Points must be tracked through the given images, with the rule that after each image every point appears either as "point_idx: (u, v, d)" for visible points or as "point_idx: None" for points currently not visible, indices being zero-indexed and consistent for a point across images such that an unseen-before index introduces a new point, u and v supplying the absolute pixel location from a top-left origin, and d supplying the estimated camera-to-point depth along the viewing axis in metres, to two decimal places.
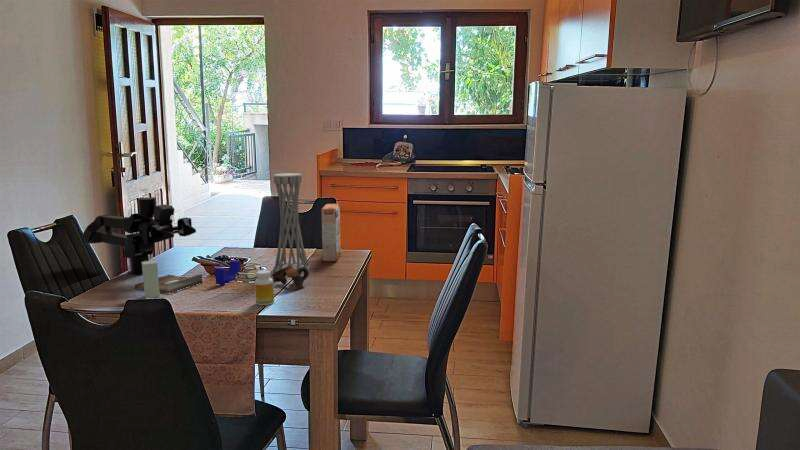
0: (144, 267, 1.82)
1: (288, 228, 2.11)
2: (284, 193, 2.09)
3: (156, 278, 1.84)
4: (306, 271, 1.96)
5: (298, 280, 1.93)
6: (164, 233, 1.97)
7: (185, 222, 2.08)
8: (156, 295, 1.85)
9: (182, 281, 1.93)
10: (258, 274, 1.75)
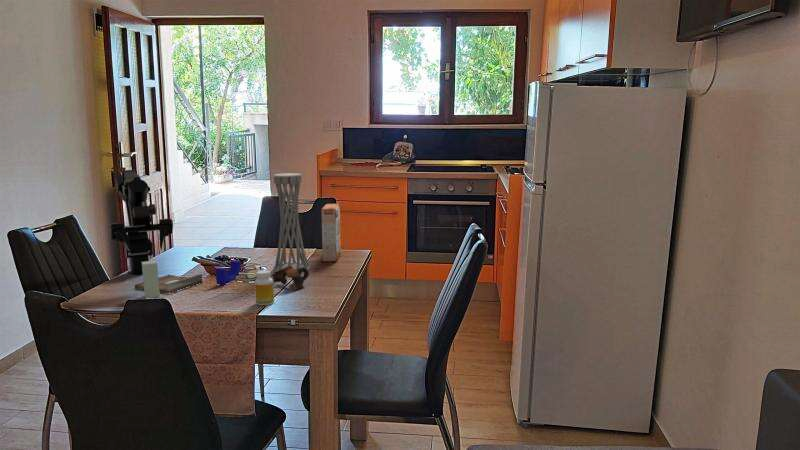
0: (144, 267, 1.82)
1: (288, 228, 2.11)
2: (284, 193, 2.09)
3: (156, 278, 1.84)
4: (306, 271, 1.96)
5: (298, 280, 1.92)
6: (125, 243, 1.89)
7: (161, 229, 1.94)
8: (156, 295, 1.85)
9: (182, 281, 1.93)
10: (258, 274, 1.75)
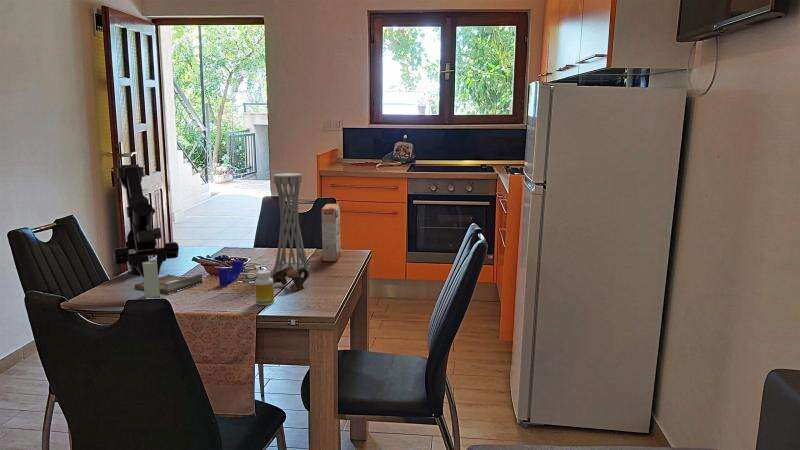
0: (144, 267, 1.82)
1: (288, 228, 2.11)
2: (284, 193, 2.09)
3: (156, 278, 1.84)
4: (306, 272, 1.95)
5: (298, 281, 1.92)
6: (138, 267, 1.84)
7: (158, 254, 1.87)
8: (156, 295, 1.85)
9: (182, 281, 1.93)
10: (258, 274, 1.75)
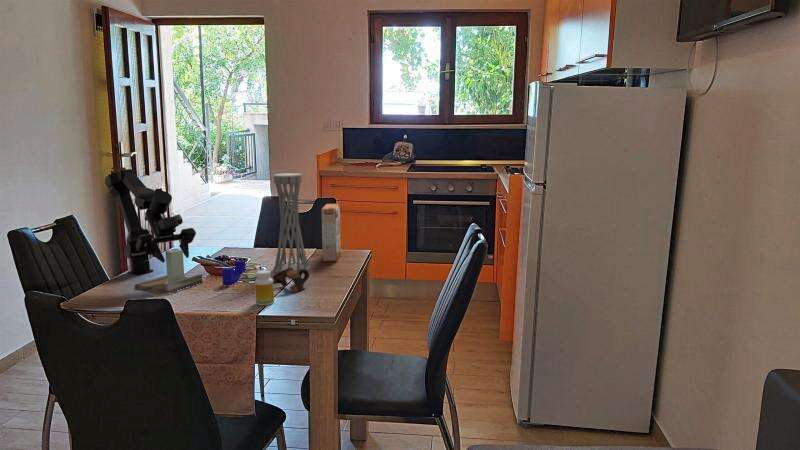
0: (172, 255, 1.92)
1: (288, 228, 2.11)
2: (284, 193, 2.09)
3: (182, 265, 1.95)
4: (307, 273, 1.94)
5: (299, 282, 1.90)
6: (157, 253, 1.91)
7: (185, 239, 1.98)
8: None
9: (182, 281, 1.93)
10: (258, 274, 1.75)
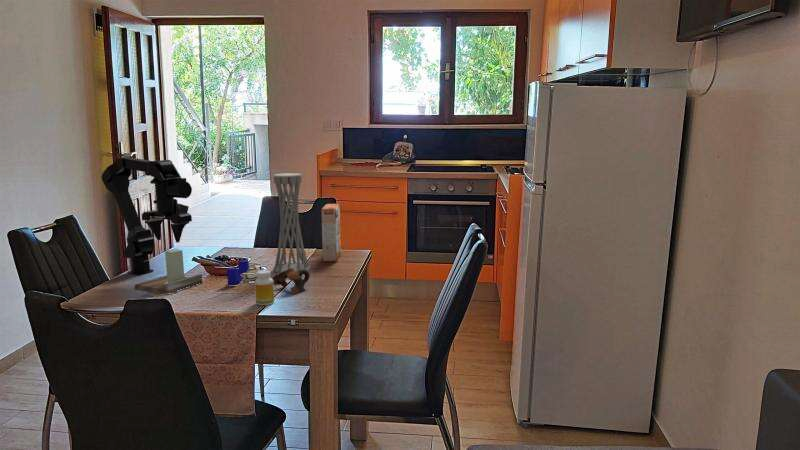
0: (171, 255, 1.92)
1: (288, 228, 2.11)
2: (284, 193, 2.09)
3: (181, 265, 1.95)
4: (307, 274, 1.93)
5: (300, 283, 1.89)
6: (180, 233, 2.04)
7: None
8: None
9: (182, 281, 1.93)
10: (258, 274, 1.75)
